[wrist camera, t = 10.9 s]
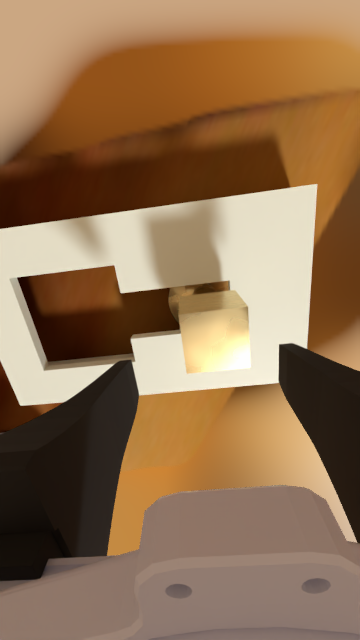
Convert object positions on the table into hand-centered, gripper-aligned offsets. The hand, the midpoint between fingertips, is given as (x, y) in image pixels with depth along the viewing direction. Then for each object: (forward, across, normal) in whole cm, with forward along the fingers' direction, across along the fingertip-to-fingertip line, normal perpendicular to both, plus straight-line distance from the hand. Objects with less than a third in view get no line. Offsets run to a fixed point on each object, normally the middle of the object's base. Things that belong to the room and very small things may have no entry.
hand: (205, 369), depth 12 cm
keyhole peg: (+10, -1, -1) cm, 10 cm away
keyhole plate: (+10, +4, -1) cm, 11 cm away
